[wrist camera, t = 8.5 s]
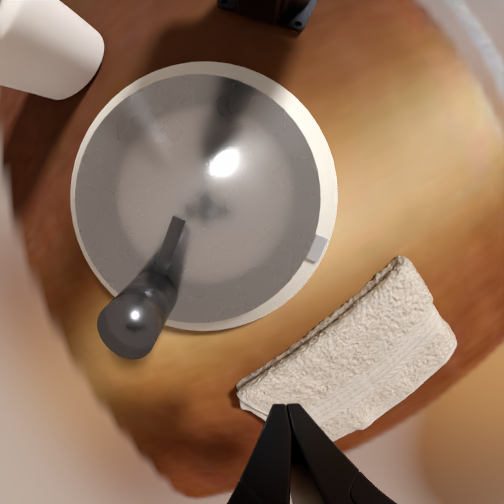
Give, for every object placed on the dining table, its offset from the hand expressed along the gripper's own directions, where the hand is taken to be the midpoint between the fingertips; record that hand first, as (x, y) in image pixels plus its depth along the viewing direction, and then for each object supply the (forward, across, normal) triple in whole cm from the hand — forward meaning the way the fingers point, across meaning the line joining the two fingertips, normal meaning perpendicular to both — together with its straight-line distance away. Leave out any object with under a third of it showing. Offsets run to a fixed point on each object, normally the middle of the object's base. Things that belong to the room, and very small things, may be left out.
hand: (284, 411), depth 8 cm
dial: (+11, +5, -5) cm, 13 cm away
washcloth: (+13, -8, +8) cm, 17 cm away
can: (+13, +16, -16) cm, 26 cm away
